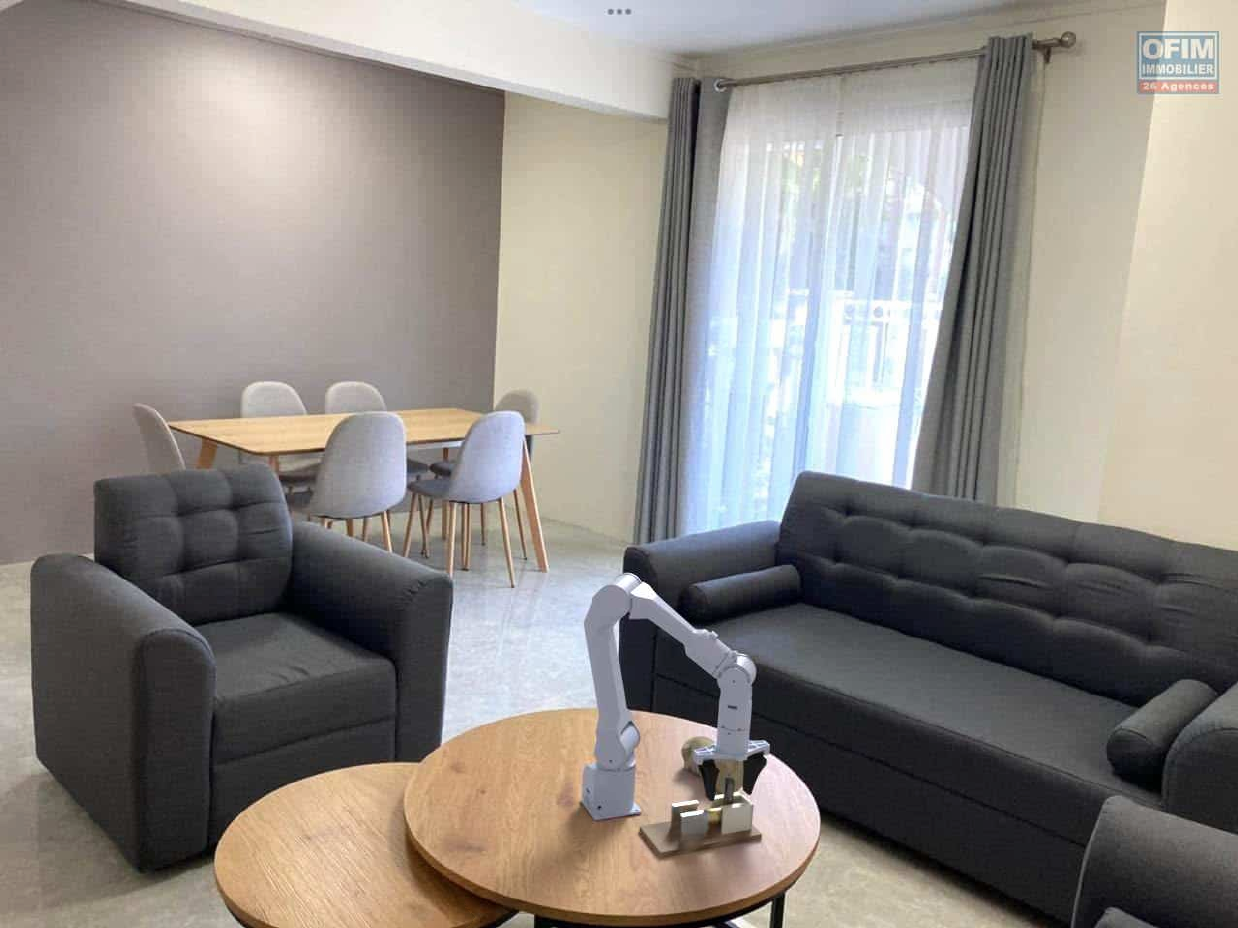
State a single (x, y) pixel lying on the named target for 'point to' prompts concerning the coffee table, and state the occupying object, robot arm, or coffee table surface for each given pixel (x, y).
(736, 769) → the sculpture
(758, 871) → the coffee table surface
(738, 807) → the socket block
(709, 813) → the brass bolt
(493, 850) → the coffee table surface
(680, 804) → the guide board
